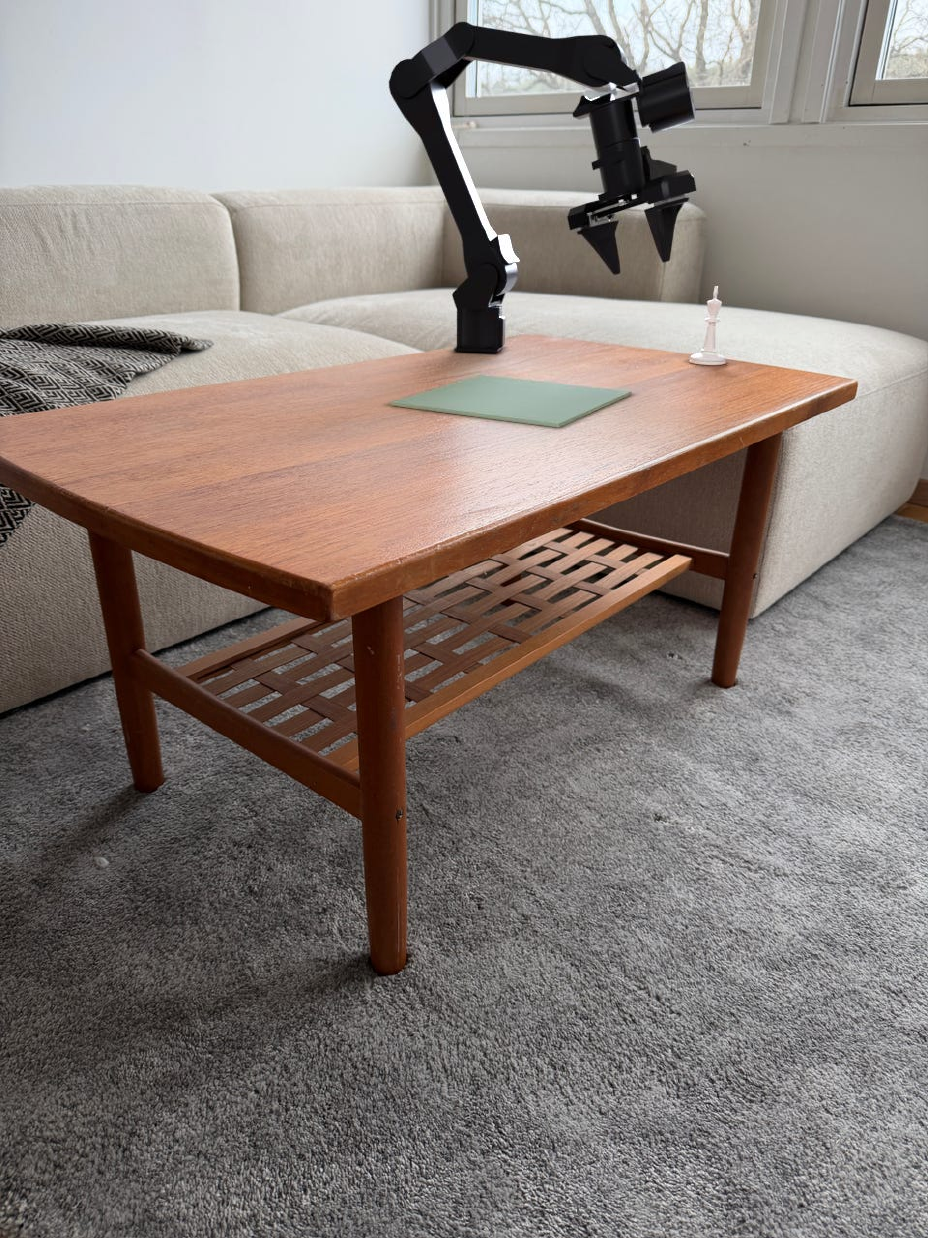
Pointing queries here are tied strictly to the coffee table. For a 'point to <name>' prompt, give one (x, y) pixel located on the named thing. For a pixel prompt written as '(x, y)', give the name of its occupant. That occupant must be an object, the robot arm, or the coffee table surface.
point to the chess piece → (710, 336)
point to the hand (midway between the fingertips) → (640, 268)
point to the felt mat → (514, 400)
